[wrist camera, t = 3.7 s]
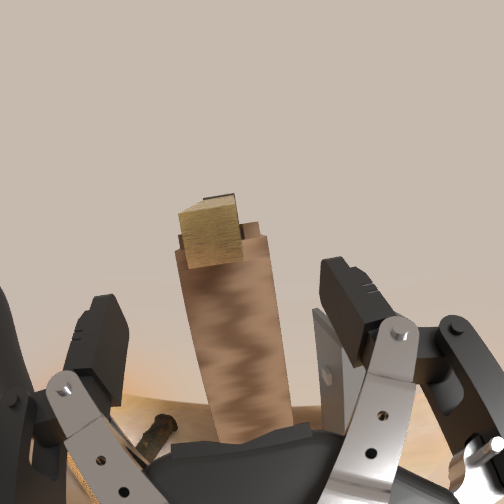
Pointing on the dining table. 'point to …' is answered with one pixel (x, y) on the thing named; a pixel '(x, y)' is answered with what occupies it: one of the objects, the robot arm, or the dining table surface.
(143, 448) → the hand tool
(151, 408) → the dining table surface
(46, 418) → the robot arm
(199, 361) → the brown tall rectangular frame
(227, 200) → the rod
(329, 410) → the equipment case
